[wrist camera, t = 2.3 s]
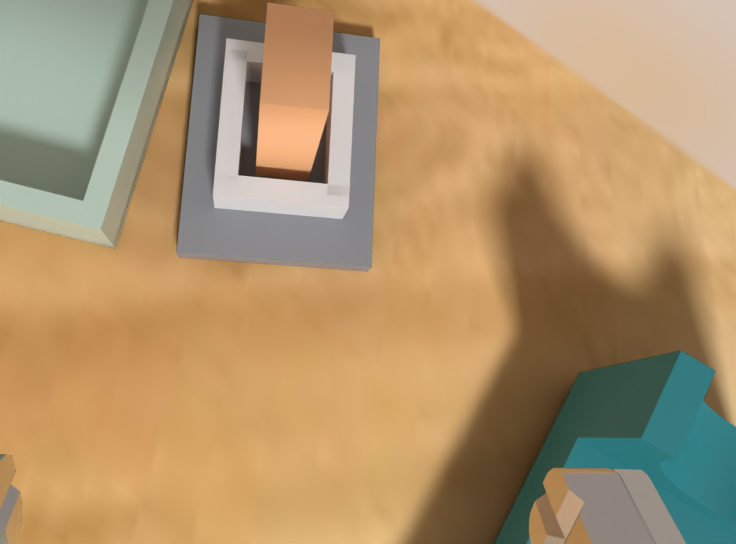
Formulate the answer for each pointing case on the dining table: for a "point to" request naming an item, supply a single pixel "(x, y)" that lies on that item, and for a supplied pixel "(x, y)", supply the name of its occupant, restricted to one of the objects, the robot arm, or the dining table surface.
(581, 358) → the dining table surface
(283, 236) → the grey socket base plate
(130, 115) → the tray
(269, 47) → the orange rectangular block
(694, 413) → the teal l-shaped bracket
